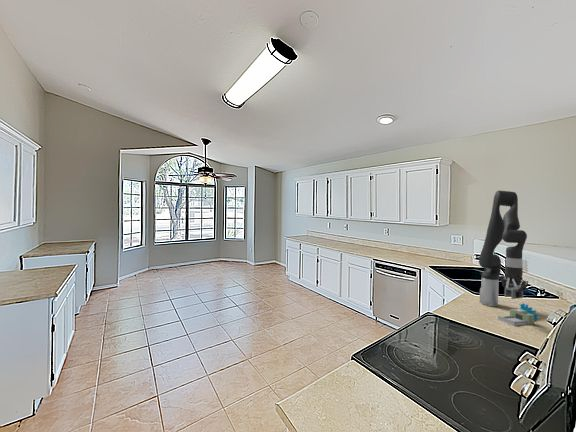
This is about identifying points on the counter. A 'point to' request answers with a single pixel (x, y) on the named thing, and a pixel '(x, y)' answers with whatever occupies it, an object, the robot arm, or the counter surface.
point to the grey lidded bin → (511, 292)
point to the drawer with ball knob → (518, 317)
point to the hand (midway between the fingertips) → (513, 296)
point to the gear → (529, 310)
